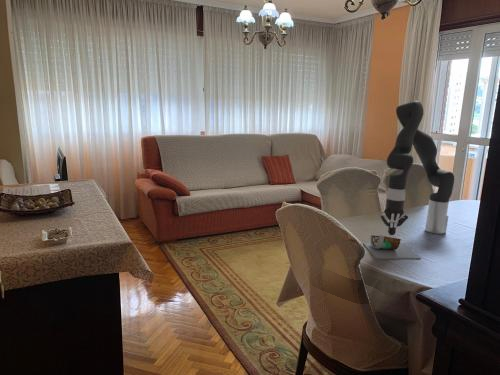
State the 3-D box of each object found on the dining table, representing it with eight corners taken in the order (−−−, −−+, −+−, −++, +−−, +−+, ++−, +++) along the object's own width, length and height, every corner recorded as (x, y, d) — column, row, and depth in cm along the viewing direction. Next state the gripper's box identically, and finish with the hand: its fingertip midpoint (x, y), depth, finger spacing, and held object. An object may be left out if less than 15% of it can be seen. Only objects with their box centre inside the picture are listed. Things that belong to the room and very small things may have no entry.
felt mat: (404, 244, 178) (404, 243, 178) (420, 259, 162) (421, 257, 162) (363, 243, 178) (363, 242, 178) (375, 258, 161) (375, 257, 161)
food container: (389, 251, 176) (368, 247, 176) (391, 238, 176) (370, 234, 176) (400, 253, 163) (378, 249, 163) (402, 239, 164) (379, 235, 164)
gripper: (406, 196, 168) (402, 232, 172) (377, 195, 167) (374, 231, 171) (414, 200, 160) (409, 237, 164) (384, 199, 160) (379, 237, 164)
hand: (391, 234), depth 168 cm, fingers closed
